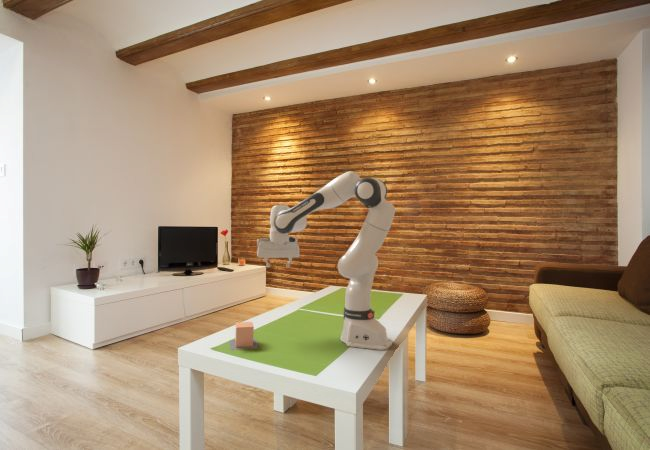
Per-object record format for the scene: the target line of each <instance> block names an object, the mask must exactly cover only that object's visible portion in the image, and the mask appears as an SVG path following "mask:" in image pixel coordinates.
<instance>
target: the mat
mask: <svg viewBox="0 0 650 450" xmlns="http://www.w3.org/2000/svg"><path fill="white" fill-rule="evenodd" d="M258 344H259V343H258V340H257V338H253V346H250V347H236V344H235V339H232V340H231V339H230V340H229V349H230V351H235V350H237V351H238V350H239V351H240V350H250V349H259V348H260V347H259V345H258Z"/></svg>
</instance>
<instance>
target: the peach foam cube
mask: <svg viewBox="0 0 650 450" xmlns="http://www.w3.org/2000/svg"><path fill="white" fill-rule="evenodd" d="M253 323H254V322H253V321H243V322H241V321H240V322H239V321H238V322H235V333H234V334H235V336H234V340H235V344H236V347H250V346H253V339H254V331H255V330H254V328H255V327H254V324H253Z"/></svg>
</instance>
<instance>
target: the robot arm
mask: <svg viewBox="0 0 650 450" xmlns="http://www.w3.org/2000/svg"><path fill="white" fill-rule="evenodd" d="M387 195H388V186H387V185H386V183H385V182H384V181H383V180H381V179H378V178H376V177H370V176H369V177H363V178H361V177H360V176H359V174H358V173H357V172H355V171H353V170H351V171H350V170H349V171H346V172H343V173H342V174H340V175H338V176H337V177H335V178H333V179H332V180H331V181H329V182H328V183H326V185H324V186H322V187H321V188H320V189H318V190H317V191H315V192H314V193H313V194H312V195H309V196H307V198H304V199H303V200H302V201H300V202H299V203H297V204H295V205H294V206H293V207H290V206H288V204H284V203H283V204H276V205H273V206H272V208H271V210H270V217H269V224H270V229H269V237H266V238H265V237H260V238H259V239H257V241H256V246H257V251H256V256H257V258H259V259H262V258H263V259H264V261H265V263H266V268H270V267H271V263H269V262H268V260H269V258H270V259H271V258H273V259H279V258H284V259H285V258H287V259H288V262H286V263H285V267H286V268H290V265H291V262H292V260H293V259H294V258H297V259H298V258H299V257H300V245H299V243H298V241H299V240H298V238H297V237H295V236H292V235H289V233H299V232H302V231H304V230H305V229H306V228H307V225H308V219H307V216H308V215H310V214H312V213H314V212H316V211H321V210H328V209H335V208H337V207H339V206H341V205H342V204H344V203H346V202H348V200H349V199H352V198H353V197H356V199H357V200H358V201H359V202H360V203H362V204H363V205H364V206H365V207H366V208H368V212H367V215H366V218H365V220H364V222H363V224H362V226H361V228H360V231H359V233H358V235H357V237H356V238H355V240H353V242H352V244H351V245H350V247H348V249H347V251H346V252H345V254H344V255H342V256H341V257H340V258H339V260H338V261H337V270H338V271H337V272H339V274H340V276H342V277H343V278H346V279H349V281H348V284H347V287H346V289H345V298H344V299H345V300H344V303H345V304H344V308H343V326H342V332H341V336H340V341H341V342H343V343H344V344H345V345H346V346H347V347H352V348H360V349H370V350H380V351H384V350H387V349H389V348H390V347H391V346H392V344H393V340H392V338H391V337H388V334H387V328H386V327H385V326H384V325H383V324H382V323H381V322H380V321H378V320H377V318H375V312H376V310H373V309H372V308H371V298H372V297H371V294H372V287H373V283H374V279H375V274H376V271H377V269H378V267H379V263H380V262H379V259H378V256H377V255H376V253H377V252H378V251H379V249H381V248H382V246H383V245H384V241H386V240H385V239H386V237H387V236H388V233H389V231H390V229H391V227H392V223H393V222H394V218H395V213H396V208H395V206H394V205H393V203H392V202H390V201H388V200H387V199H386V197H387Z"/></svg>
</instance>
